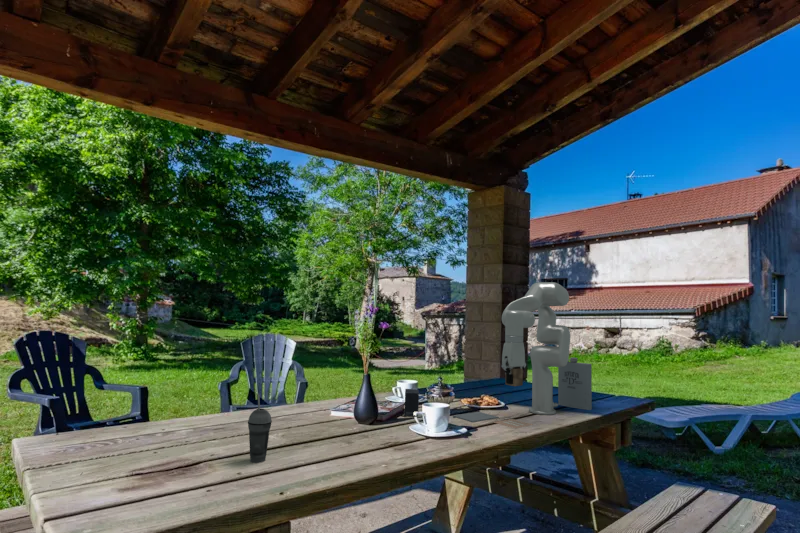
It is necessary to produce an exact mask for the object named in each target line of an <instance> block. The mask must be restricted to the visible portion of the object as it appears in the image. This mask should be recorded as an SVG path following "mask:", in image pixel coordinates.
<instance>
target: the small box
mask: <svg viewBox="0 0 800 533" xmlns="http://www.w3.org/2000/svg"><path fill="white" fill-rule="evenodd" d="M419 395H420V391H419V389H412V388H405V391H404V410H403V411H404V412H403V413H404V414H403V416H404V417H414V416H413V412H414V411H418V412H419V407H420V406H419V403H420V396H419Z"/></svg>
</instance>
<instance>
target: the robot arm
mask: <svg viewBox="0 0 800 533" xmlns="http://www.w3.org/2000/svg"><path fill="white" fill-rule="evenodd" d="M569 302H570V295H569V292H568V290H567V289H566V288H565V287H564V286H563V285H561V284H559V283H557V282H552V281H551V282H549V281H547V282H546V281H545V282H544V281H543V282H542V281H538V282H535V283H532V285H531V286H530V287H529V289H528V291H527V292H526V293H525V295H524V296H522V297H520V298H517V299H516V300H513V301H511V302H510V303H509V304H507V306H506V307H505V309H504V310H503V312H502V315H501V322H502V324H503V325H504V327H505V328H504V331H505V333H504V340H505V342H504V343H503V348H502V354H501V368H502V370H503V371H504V375H505V382H506V383H507V384H513V375H512V371H513V367H515V368H522V369H523V371H524V370H525V368H526V366H527V363H526V354H525V344H524V329H528V328H532V327H533V326H534V325H535V323H536V317H535V315H534V313H533V312H536V311H537V313H538V319H537V327H536V328H537V329H536V341H537V342H538V343H540V344H543V345H535V346H533V347H532V348H531V350H530V361H531V372H532V373H531V377H532V380H531V384H532V385H531V386H532V387H531V388H532V389H531V394H532V395H531V399H532V400H531V401H532V402H531V407H529V408H528V412H529V413H532V414H535V415H545V416H546V415H547V416H549V415H556V414H557V410H556V409H554V408H557V407H558V406H559V405H558V402H554V400H553V398H554V397H553V396H554V393H553V392H554V391H553V390H554V376H553V372H552V371H551V369H550V368H549V367H554V368H555V367H556V368H558V367H565V366H566V365H567V363H568V362H569V360H568V359H569V356H570V346H571V331H570V329H569V327H568V326H566V325H561V324H560V325H559V324H557V314H556V312H555V311H554V310H553V308H552V307H564V306H566V305H568V303H569ZM550 306H551V307H550ZM553 345H555V346H553ZM509 368H510V370H509Z"/></svg>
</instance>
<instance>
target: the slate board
mask: <svg viewBox="0 0 800 533" xmlns="http://www.w3.org/2000/svg"><path fill="white" fill-rule="evenodd" d="M456 418H457V419H460V420H462V421H467V422H469V423H477V422H478V423H479V422H483V421H490V420H495V419H500V417H499V416H497V415H493V414H488V413H485V412H481V411H474V412H467V413H462V414H455V415H452V419H456Z"/></svg>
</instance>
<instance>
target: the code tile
mask: <svg viewBox="0 0 800 533" xmlns="http://www.w3.org/2000/svg"><path fill="white" fill-rule="evenodd" d="M493 423H494V424H497V425H498V424H499V425H501V426H505V427H509V428H512V429H519V428H524V427H525V428H526V427H530V426H534V424H533V423H529V422H526V421H521V420H517V419H515V418H510V419H503V420H499V421H498V420H497V421H493Z"/></svg>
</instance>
